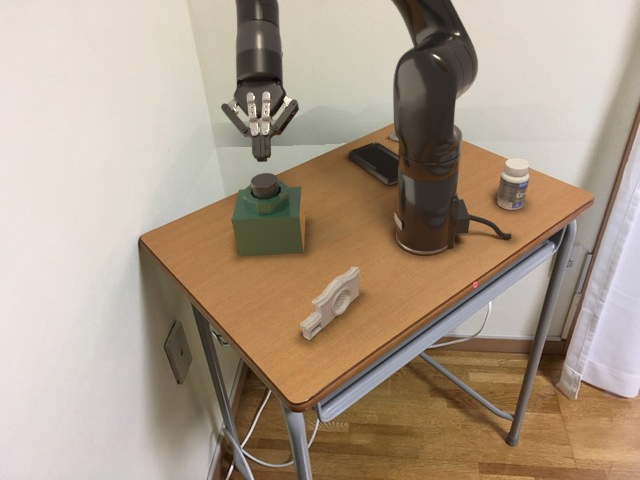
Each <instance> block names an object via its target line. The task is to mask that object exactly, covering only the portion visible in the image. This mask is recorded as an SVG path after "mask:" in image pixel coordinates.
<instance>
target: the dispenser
mask: <svg viewBox="0 0 640 480" xmlns="http://www.w3.org/2000/svg"><path fill="white" fill-rule="evenodd" d="M278 184H279V194H278V195H277V196H276V197H273V198H270V199H262V200H260V199H257V198H255V197H254V196H253V192H252V186H251V183H250V184H249V185H247V186H246V187H245V188H243V189H238V192H237V196H236V200H235V204H234V209H233V212H232V217H231V224H232V229H233V233H234V238H235V243H236V247H237V252H238V257H253V256H255V257H256V256H273V255H296V254H304V253H305V235H306V234H305V233H306V216H305V214H306V213H305V206H304V197H303V188H302V186H301V185H300V186H299V185H298V186H288V185H287V184H286V183H285V182H284V181H283V180H279V179H278Z"/></svg>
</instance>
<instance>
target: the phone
mask: <svg viewBox="0 0 640 480" xmlns="http://www.w3.org/2000/svg"><path fill="white" fill-rule="evenodd" d="M348 158H349V159H350V160H351V161H352V162H354V163H355V164H357V165H358V166H360V167H361V168H363V169H364V170H365V171H367V172H368V173H369V174H371V175H372V176H374V177H375V178H376V179H377V180H378V181H380V182H382V183H383V184H384V185H387V186H394V185H396V184H398V160H399V154H397V153H395V152H394V151H393V150H391V149H389V148H387V147H386V146H384V145H383V144H381V143H380V142H371V143H367V144H365V145H362V146H359V147H357V148H354V149H351V150H350V151H349V152H348Z"/></svg>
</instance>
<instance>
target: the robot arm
mask: <svg viewBox="0 0 640 480" xmlns="http://www.w3.org/2000/svg"><path fill="white" fill-rule="evenodd" d="M234 2H235V11H236V37H235V74H236V76H235V77H236V79H235V80H236V87H235V91H234V93H233V98H232V100H230V101H229V102H228V103H222V104H221V106H220V108H221V111H222V112H223V114H224V116H226V117H227V119H228V120H229V121H230V122H231V123H232V125H234V126H235V128H236V129H237V130H238V131H239V133H240V134H241V135H242V136H243V137H245V138H250V139H251V155H252V156H253V159H255V160H256V161H257V162H258V163H267V162H268V159H270V158H271V156H272V138H273V137H275V136H281V134H283V132H284V131H285V130H286V129H287V127H288V125H289V124H290V123H291V121H292V120H293V119H294V117H295V116H296V115H297V114H298V112H299V111H300V104H299V102H298V100H297V99H292V98H290V97H289V96H287V92H286V89H285V88H284V73H283V72H284V71H283V69H284V68H283V57H284V56H283V55H284V52H283V46H282V37H281V32H280V31H281V29H280V28H281V27H280V25H281V24H280V6H279V1H278V0H234ZM390 2H391V3H393V5H394V7H395V8H396V9H397V11H398V13H399V14H400V17H401V18H402V20H403V23H404V25H405V27H406V30H407V32H408V35H409V37H410V40H411V43H412V46H413V47H411V48H410V49H408V50H407V51H405V52H404V53H403V54H402V55H401V56H400V58H399V59H398V61H397V62H396V65H395V69H394V73H393V81H392V103H393V104H392V105H393V106H392V107H393V109H392V110H393V127H394V132H395V136H396V137H397V140H398V155H399V160H398V183H397V198H396V201H397V202H396V213H394V221H395V223H396V227H395V228H396V229H395V240H396V243H397V245H398V246H399V247H400V248H401V249H402V250H405V251H406V252H408V253H411V254H413V255H418V256H419V255H420V256H433V255H438V254H440V253H442V252H445V251H446V250H447V249H453V248H455V242H456V235H457V234H458V235H459V234H469V228H470V223H471V221H473V222H476V223H480V224H483V225H484V226H487V227H489V228H491V229H492V230H493V231H494V232H495V233H496V235H497V236H499V238H501V239H504V240H509V239H512V233H505V232H503V231H502V230H501V229H500V227H499V226H498V225H497V224H495V223H494V222H493V221H490V220H488V219H486V218H483V217H480V216H476V215H473V214H470V213H469V211H468V208H467V206H466V203H465V200H464V199H463V198H461V199H460V198H459V195H458V193H457V192H458V183H459V182H458V181H459V173H460V165H461V156H462V149H463V148H462V147H463V132H462V130H461V129H460V127H458V126H457V125H456V124H455V116H456V115H455V113H456V105H457V104H456V103H457V100H458V99H459V98H461V97H462V96H463V95H464V94H465V93H467V92H468V90H469V89H470V88H471V87H472V86H473V85H474V83H475V81H476V79H477V76H478V72H479V59H478V54H477V51H476V48H475V46H474V44H473V41H472V39H471V37H470V35H469V33H468V31H467V29H466V27H465V25H464V23H463V21H462V19H461V17H460V14H459V13H458V11H457V10H456V8H455V5H454V3H453V2H452V0H390ZM238 107H239V109H241V111H242V112H243V113H244V115H245V116H246V117H247V118H248V121H249V126H247V125H246V124H245V123H244V121H243V120H242V119H241V118H240V117H239V116H238V114H239V110H238ZM281 108H283V110H282V112H281V114H280V115H279V117H277V119H276V120H275V122H274V123H273V120H274V117H275V116H276V115H277V114H278V112H279V111H280V109H281Z"/></svg>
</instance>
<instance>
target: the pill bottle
mask: <svg viewBox="0 0 640 480" xmlns="http://www.w3.org/2000/svg"><path fill="white" fill-rule="evenodd" d="M530 166H531V165H530V162H529V161H528V160H526V159H523V158H520V157H519V158H518V157H514V158H513V157H512V158H509V159H507V160H505V163H504V169H503V170H502V172H501V174H500V179H499V185H498V191H497V197H496V204H497V206H499V208H502V209H504V210H507V211H517V210H520V209H521V208H522V207H524V204H525V200H526V196H527V192H528V185H529V181H530V173H529V172H530Z"/></svg>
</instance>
